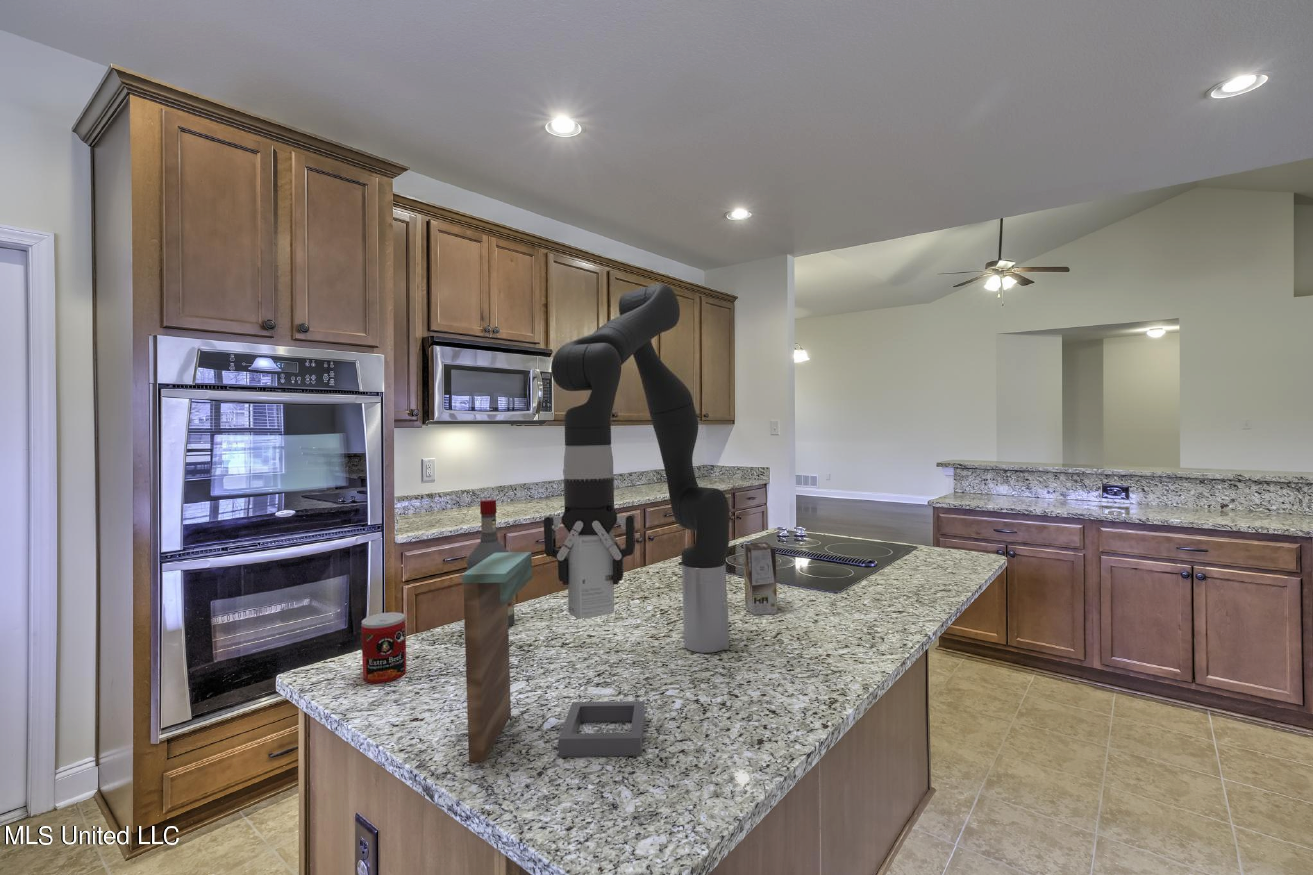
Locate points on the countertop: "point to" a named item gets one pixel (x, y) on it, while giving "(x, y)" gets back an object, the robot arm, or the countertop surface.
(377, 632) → the canned food
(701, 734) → the countertop surface
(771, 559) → the coffee box
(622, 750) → the socket
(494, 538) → the liquor
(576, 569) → the skincare box
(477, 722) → the awning stand
